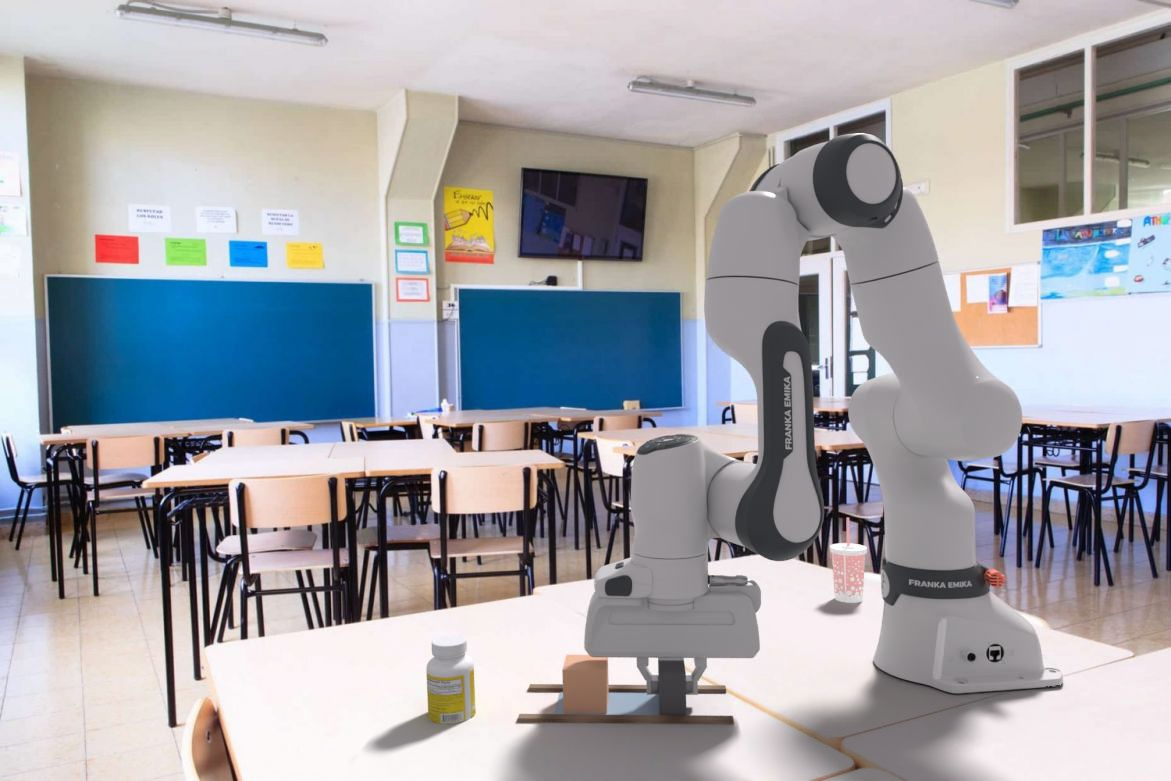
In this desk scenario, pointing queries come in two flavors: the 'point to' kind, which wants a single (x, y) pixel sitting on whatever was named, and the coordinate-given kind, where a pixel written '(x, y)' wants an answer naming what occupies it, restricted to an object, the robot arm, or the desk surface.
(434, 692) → the supplement bottle
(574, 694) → the terracotta cube
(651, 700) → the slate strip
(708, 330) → the robot arm
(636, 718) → the guide rails
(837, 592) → the beverage cup
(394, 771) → the desk surface
